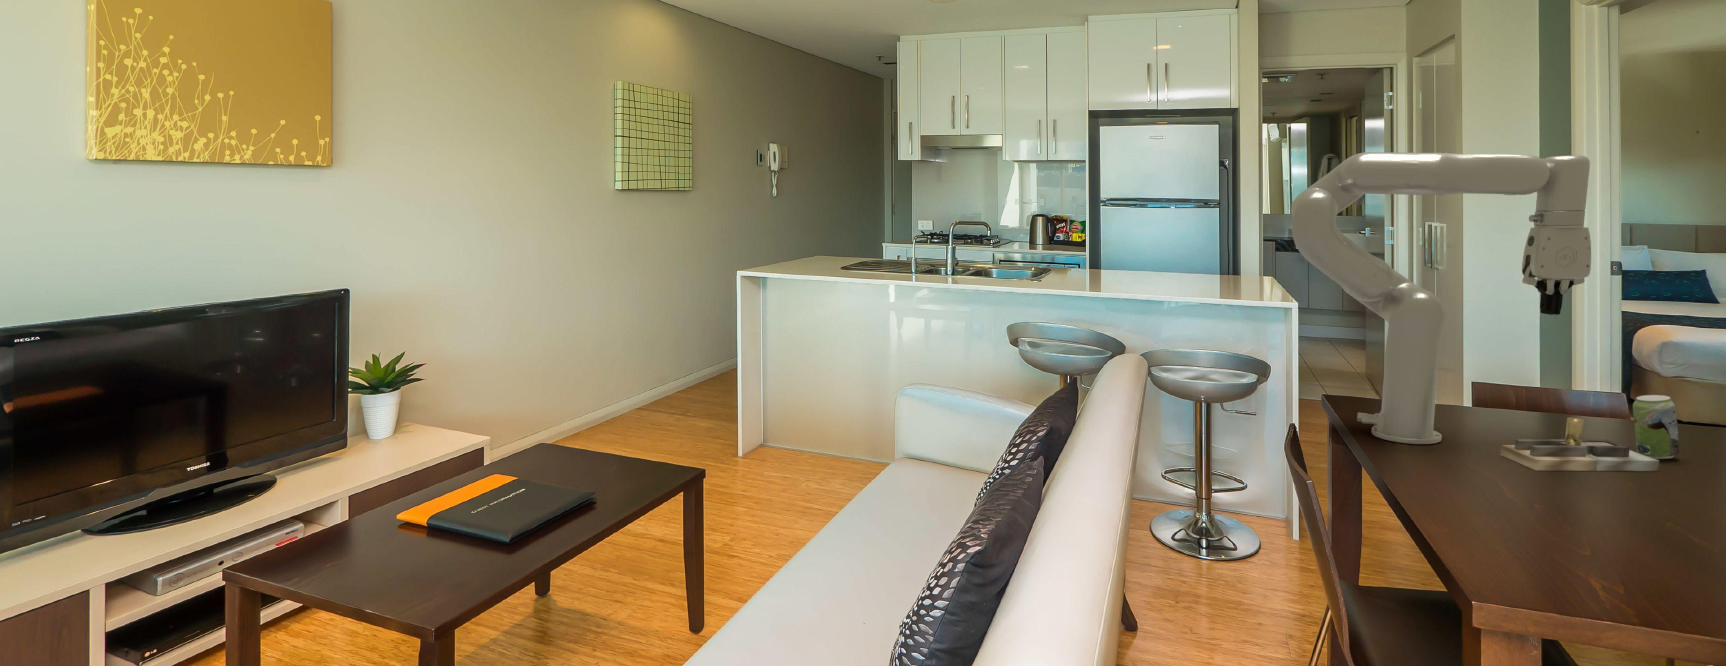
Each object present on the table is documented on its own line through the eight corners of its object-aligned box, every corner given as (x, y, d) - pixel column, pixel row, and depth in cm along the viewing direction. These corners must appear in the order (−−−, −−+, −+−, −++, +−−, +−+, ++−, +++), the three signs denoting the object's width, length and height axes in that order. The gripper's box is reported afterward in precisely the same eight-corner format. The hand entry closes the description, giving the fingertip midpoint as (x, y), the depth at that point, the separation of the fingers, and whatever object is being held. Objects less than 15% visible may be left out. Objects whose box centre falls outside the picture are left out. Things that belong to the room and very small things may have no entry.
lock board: (1535, 470, 158) (1537, 450, 157) (1500, 454, 168) (1502, 436, 167) (1658, 471, 156) (1660, 451, 155) (1615, 455, 166) (1617, 436, 165)
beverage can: (1686, 462, 160) (1694, 400, 159) (1641, 461, 162) (1648, 399, 160) (1663, 453, 167) (1670, 392, 165) (1619, 451, 168) (1626, 392, 166)
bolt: (1568, 453, 160) (1571, 420, 159) (1559, 450, 163) (1562, 417, 162) (1613, 453, 160) (1617, 420, 159) (1603, 450, 162) (1607, 417, 161)
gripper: (1531, 221, 163) (1522, 316, 166) (1615, 220, 162) (1605, 316, 164) (1505, 220, 170) (1497, 312, 173) (1585, 219, 169) (1576, 311, 172)
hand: (1550, 313), depth 169 cm, fingers closed
